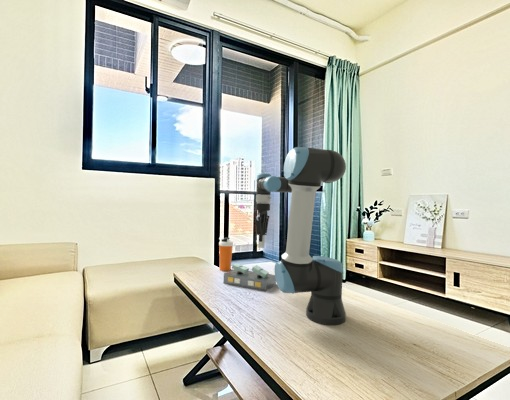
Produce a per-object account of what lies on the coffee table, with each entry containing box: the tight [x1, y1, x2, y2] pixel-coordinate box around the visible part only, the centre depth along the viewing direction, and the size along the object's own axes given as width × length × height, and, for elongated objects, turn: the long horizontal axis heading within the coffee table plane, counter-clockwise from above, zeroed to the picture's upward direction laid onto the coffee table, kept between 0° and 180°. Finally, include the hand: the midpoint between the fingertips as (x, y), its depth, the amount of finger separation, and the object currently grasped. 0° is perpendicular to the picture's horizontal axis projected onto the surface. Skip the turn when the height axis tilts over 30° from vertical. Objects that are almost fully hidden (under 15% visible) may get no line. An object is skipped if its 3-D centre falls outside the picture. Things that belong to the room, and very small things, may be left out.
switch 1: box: [231, 262, 250, 273], centre depth 151 cm, size 5×8×2 cm, turn 64°
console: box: [223, 269, 277, 292], centre depth 149 cm, size 13×25×6 cm, turn 64°
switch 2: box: [251, 264, 270, 278], centre depth 146 cm, size 5×8×2 cm, turn 64°
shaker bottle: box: [218, 237, 234, 272], centre depth 177 cm, size 9×9×20 cm
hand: (261, 247), depth 147 cm, fingers closed
